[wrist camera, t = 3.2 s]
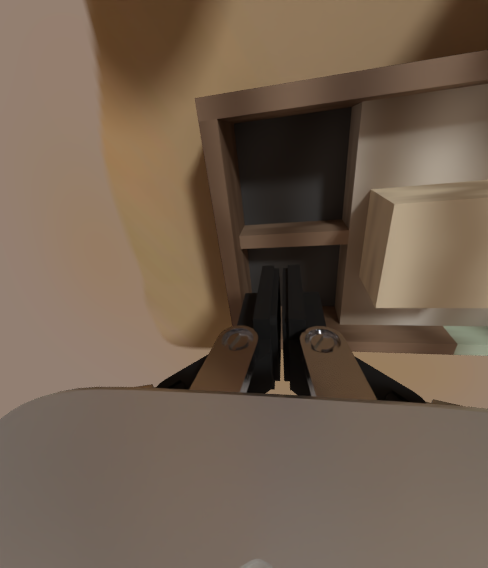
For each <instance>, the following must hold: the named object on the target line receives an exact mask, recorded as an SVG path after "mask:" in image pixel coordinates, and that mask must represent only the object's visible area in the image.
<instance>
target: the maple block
mask: <svg viewBox="0 0 488 568" xmlns="http://www.w3.org/2000/svg"><path fill="white" fill-rule="evenodd" d="M359 277H360V279H361V281H362V283H363V285H364V287H365V289H366V291H367V292H368V294H369V296H370V298H371V300H372V302H373V304H374V306H375V308H488V180H480V181H468V182H455V183H443V184H431V185H419V186H406V187H394V188H382V189H371V191H370V199H369V206H368V214H367V221H366V229H365V236H364V244H363V251H362V258H361V266H360V273H359Z"/></svg>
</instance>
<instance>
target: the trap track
mask: <svg viewBox="0 0 488 568" xmlns="http://www.w3.org/2000/svg"><path fill="white" fill-rule="evenodd" d="M195 103H196V109H197V115H198V121H199V127H200V133H201V139H202V145H203V151H204V157H205V163H206V169H207V175H208V181H209V187H210V194H211V200H212V206H213V212H214V218H215V224H216V230H217V236H218V242H219V248H220V254H221V260H222V266H223V272H224V278H225V284H226V290H227V296H228V302H229V308H230V314H231V320H232V326H237V323H238V320H239V316H240V312H241V308H242V304H243V300H244V296H245V293H258V287H259V282H260V276H261V271H262V266H268V265H274V266H275V268H279V276H280V299H281V349H283V335H282V286H283V268H288V265H296V264H300V271H301V280H302V289H303V292H319V295H320V299H321V304H322V309H323V313H324V318H325V322H326V327H330V328H332V329H335V330H337V331H338V332H339V333H341V334H342V335H343V337H344V338H345V340H346V342H347V343H348V345H349V347H350V349H351V351H355V352H386V353H417V354H449V355H479V356H481V355H482V356H488V308H375V306H374V304H373V302H372V300H371V298H370V296H369V294H368V292H367V291H366V289H365V287H364V285H363V283H362V281H361V279H360V277H359V273H360V266H361V258H362V251H363V244H364V236H365V229H366V221H367V214H368V206H369V199H370V191H371V189H382V188H394V187H406V186H419V185H431V184H443V183H455V182H468V181H480V180H488V50H483V51H477V52H471V53H465V54H459V55H453V56H447V57H441V58H435V59H429V60H423V61H417V62H411V63H405V64H399V65H393V66H387V67H380V68H374V69H368V70H362V71H356V72H350V73H344V74H338V75H332V76H326V77H320V78H314V79H308V80H302V81H296V82H290V83H284V84H278V85H272V86H266V87H260V88H254V89H248V90H242V91H236V92H230V93H223V94H217V95H211V96H205V97H199V98H195Z"/></svg>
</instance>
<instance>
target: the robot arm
mask: <svg viewBox="0 0 488 568" xmlns="http://www.w3.org/2000/svg"><path fill="white" fill-rule="evenodd" d="M282 335H283V356H284V357H283V358H284V380H285V381H290V390H292V391H293V392H294V393H296V394H297V395H280V394H265V393H266V392H268V391H269V390H271V389H274V388H275V381H280V360H281V299H280V276H279V268H275V266H274V265H268V266H262V271H261V276H260V282H259V287H258V293H245V296H244V300H243V304H242V308H241V312H240V316H239V320H238V323H237V326H233V327H230V328H227V329H226V330H224V331H223V332H221V334H220V335H219V336H218V338H217V340H216V342H215V343H214V345H213V347H212V349H211V351H210V353H209V354H208V355H206V356H205V357H203V358H201V359H200V360H198V361H196V362H194V363H193V364H191V365H189V366H188V367H186V368H184V369H182V370H181V371H179V372H177V373H176V374H174V375H172V376H171V377H169V378H167V379H165V380H164V381H163V382H161V383H160V384H159V385H158V386H157V387H153V385H152V384H151V385H145V386H139V387H89V388H78V389H72V390H66V391H60V392H57V393H53V394H50V395H46V396H43V397H40V398H37V399H34V400H32V401H30V402H27V403H25V404H22V405H20V406H19V407H17V408H15V409H14V410H12V411H10V412H9V413H8V414H6V415H5V416H4V417H2V418H1V419H0V568H488V409H484V408H475V407H465V406H460V405H456V404H451V403H447V402H442V401H438V400H432V403H429V402H425V401H424V400H423V399H422V398H421V397H420V396H419V395H417V394H416V393H415V392H413V391H412V390H410V389H408V388H407V387H405V386H403V385H402V384H400V383H398V382H396V381H395V380H393V379H391V378H390V377H388V376H386V375H385V374H383V373H381V372H380V371H378V370H376V369H374V368H373V367H371V366H370V365H368V364H366V363H365V362H363V361H361V360H360V359H358V358H356V357H355V356H354V355H353V353H352V351H351V349H350V347H349V345H348V343H347V342H346V340H345V338H344V337H343V335H342V334H341V333H339V332H338V331H337V330H335V329H332V328H330V327H326V322H325V318H324V313H323V309H322V304H321V299H320V295H319V292H303V289H302V280H301V271H300V264H296V265H288V268H283V286H282Z"/></svg>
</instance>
